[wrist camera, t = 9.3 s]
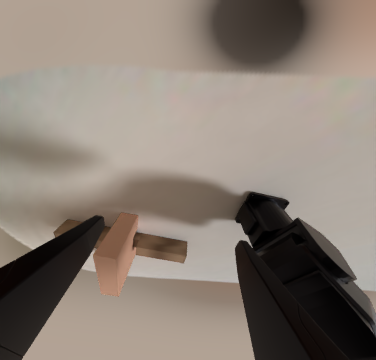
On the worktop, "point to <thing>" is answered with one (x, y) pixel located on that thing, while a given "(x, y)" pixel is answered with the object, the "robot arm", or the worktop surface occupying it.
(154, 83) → the worktop surface
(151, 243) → the brown rail
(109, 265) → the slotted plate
